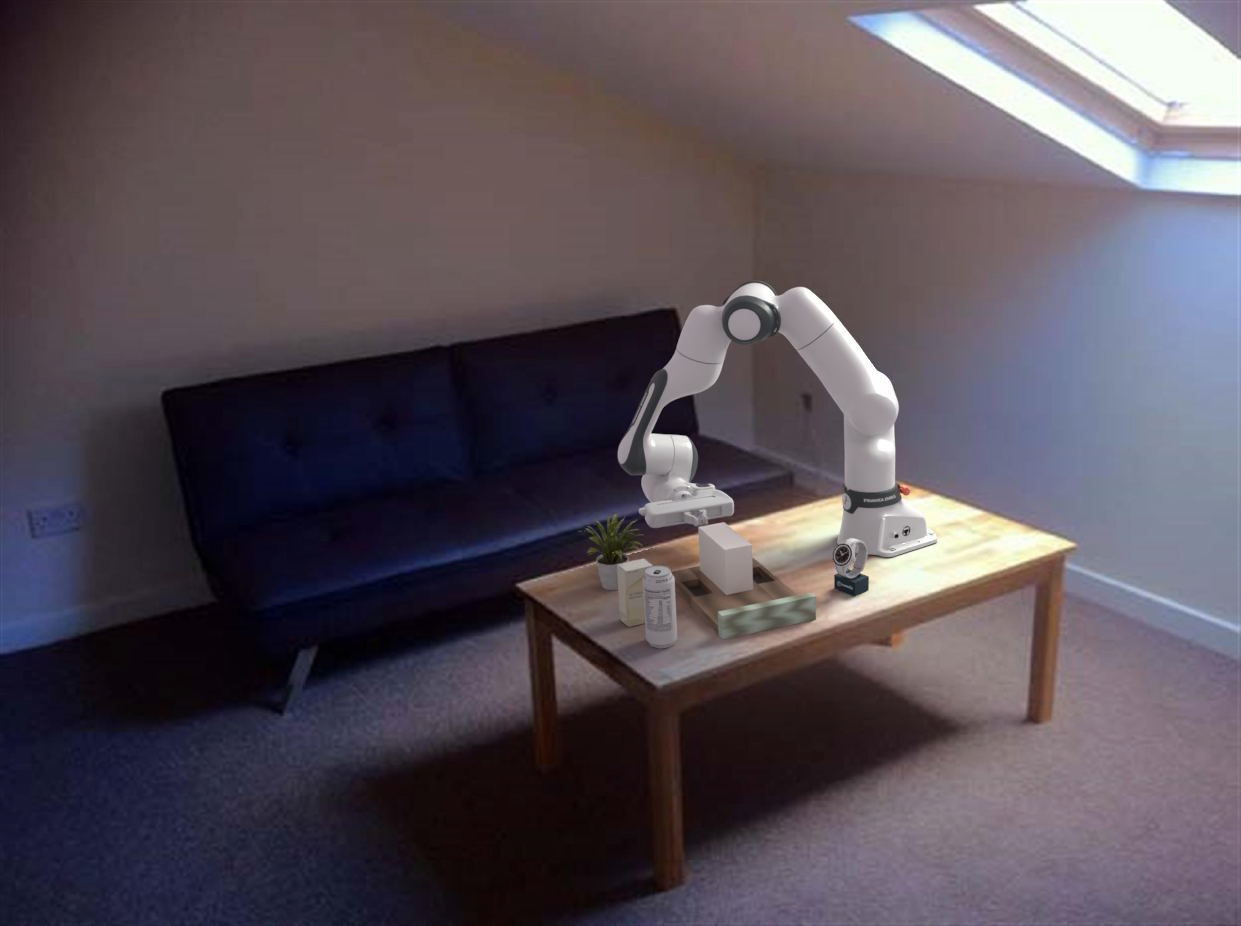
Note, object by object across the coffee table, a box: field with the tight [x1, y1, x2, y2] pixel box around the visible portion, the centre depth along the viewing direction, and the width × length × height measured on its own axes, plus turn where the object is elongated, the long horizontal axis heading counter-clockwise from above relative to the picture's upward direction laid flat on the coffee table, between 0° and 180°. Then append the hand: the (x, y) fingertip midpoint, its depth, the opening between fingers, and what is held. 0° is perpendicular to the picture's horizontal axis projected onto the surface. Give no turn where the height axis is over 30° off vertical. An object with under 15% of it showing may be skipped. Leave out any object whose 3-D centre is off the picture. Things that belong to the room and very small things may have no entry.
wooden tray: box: [671, 556, 817, 640], centre depth 229 cm, size 20×30×5 cm, turn 18°
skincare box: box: [617, 558, 654, 628], centre depth 222 cm, size 6×4×12 cm
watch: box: [831, 538, 870, 597], centre depth 230 cm, size 6×8×11 cm
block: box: [697, 521, 753, 595], centre depth 233 cm, size 6×14×10 cm, turn 18°
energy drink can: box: [643, 565, 678, 649], centre depth 212 cm, size 6×6×15 cm
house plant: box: [577, 511, 643, 591], centre depth 237 cm, size 14×14×16 cm
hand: (702, 522), depth 242 cm, fingers closed
